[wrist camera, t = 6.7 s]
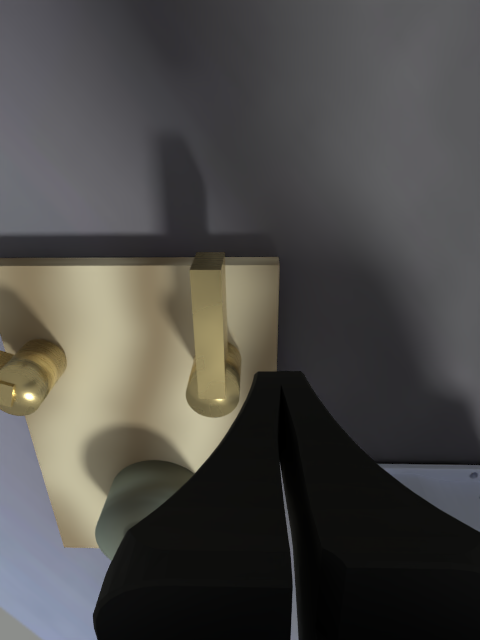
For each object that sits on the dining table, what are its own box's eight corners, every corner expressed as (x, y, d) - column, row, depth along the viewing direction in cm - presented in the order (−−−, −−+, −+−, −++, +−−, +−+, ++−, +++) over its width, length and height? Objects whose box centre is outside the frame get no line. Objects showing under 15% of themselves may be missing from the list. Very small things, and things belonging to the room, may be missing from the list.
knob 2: (239, 245, 19) (236, 270, 16) (241, 380, 22) (239, 420, 19) (185, 245, 19) (173, 270, 16) (195, 380, 22) (186, 420, 19)
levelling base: (278, 256, 21) (283, 294, 17) (271, 535, 30) (273, 604, 25) (-6, 258, 21) (-69, 294, 17) (71, 531, 30) (42, 598, 26)
